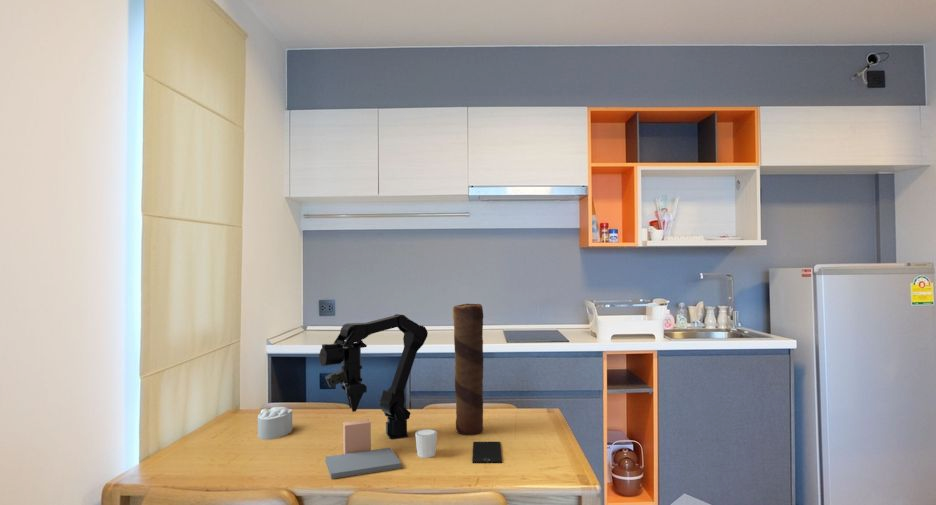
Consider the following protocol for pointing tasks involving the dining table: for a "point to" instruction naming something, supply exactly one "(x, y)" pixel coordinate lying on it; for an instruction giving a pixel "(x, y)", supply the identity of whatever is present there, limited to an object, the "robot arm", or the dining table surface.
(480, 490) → the dining table surface
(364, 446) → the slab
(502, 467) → the dining table surface
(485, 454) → the cell phone
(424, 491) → the dining table surface
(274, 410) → the lumpy-topped squat cylinder
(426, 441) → the shot glass
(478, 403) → the wafer roll
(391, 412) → the robot arm
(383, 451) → the mat
